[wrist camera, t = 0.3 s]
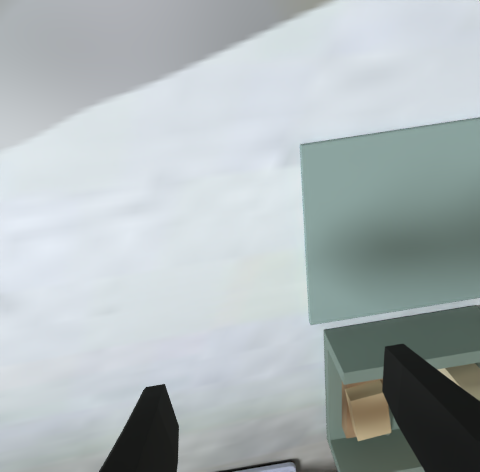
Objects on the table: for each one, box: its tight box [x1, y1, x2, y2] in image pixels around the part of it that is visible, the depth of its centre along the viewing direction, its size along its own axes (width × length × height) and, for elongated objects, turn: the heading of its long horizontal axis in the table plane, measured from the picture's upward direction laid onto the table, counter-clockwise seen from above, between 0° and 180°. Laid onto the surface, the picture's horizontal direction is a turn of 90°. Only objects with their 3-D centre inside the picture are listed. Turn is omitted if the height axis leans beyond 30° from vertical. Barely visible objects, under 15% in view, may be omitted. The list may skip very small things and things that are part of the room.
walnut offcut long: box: [342, 379, 383, 438], centre depth 24 cm, size 6×3×1 cm, turn 8°
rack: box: [324, 306, 480, 472], centre depth 24 cm, size 12×11×4 cm
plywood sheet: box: [437, 363, 480, 401], centre depth 21 cm, size 8×2×9 cm, turn 8°
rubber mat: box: [300, 118, 480, 325], centre depth 20 cm, size 12×12×1 cm
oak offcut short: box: [345, 380, 391, 441], centre depth 23 cm, size 4×2×1 cm, turn 16°
